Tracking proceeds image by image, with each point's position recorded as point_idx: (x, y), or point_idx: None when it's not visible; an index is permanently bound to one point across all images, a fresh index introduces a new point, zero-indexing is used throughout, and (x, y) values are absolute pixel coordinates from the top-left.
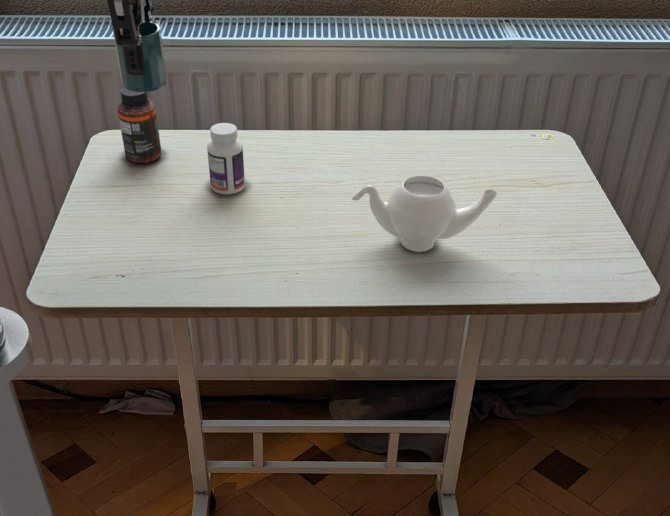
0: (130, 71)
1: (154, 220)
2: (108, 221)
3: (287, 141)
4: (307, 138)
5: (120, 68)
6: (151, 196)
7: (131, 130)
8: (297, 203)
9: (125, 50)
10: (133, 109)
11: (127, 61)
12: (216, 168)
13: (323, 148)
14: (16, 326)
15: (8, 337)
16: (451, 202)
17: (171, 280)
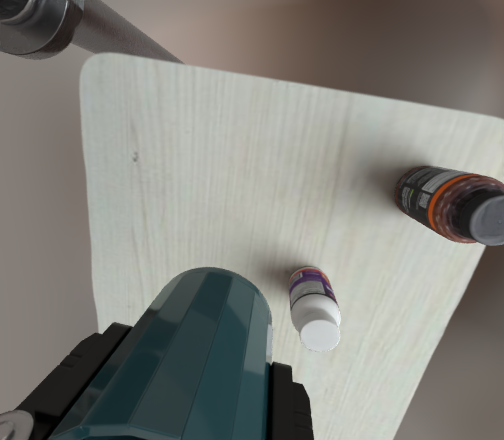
0: (94, 337)
1: (246, 197)
2: (251, 141)
3: (401, 356)
4: (402, 375)
5: (166, 300)
6: (304, 196)
7: (425, 191)
8: None
9: (23, 402)
10: (450, 208)
11: (60, 363)
12: (295, 290)
13: (372, 384)
14: (32, 36)
15: (12, 29)
16: None
17: (128, 209)
